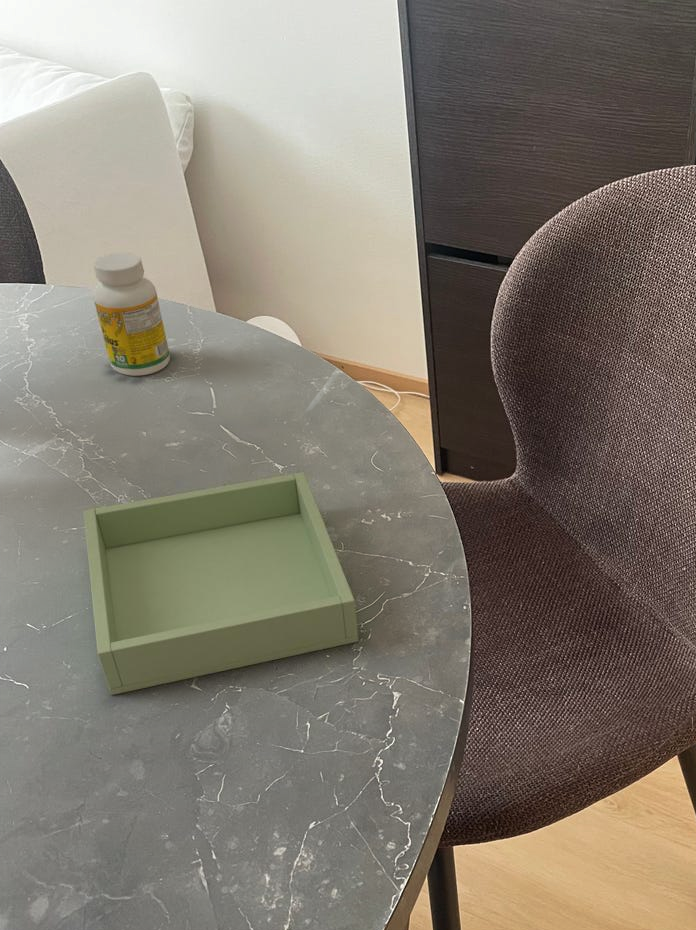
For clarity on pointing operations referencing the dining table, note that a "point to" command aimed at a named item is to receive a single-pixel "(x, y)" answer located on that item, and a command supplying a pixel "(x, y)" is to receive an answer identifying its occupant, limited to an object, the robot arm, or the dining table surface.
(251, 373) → the dining table surface
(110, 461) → the dining table surface
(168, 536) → the tray
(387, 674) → the dining table surface
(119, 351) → the supplement bottle
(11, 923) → the dining table surface
